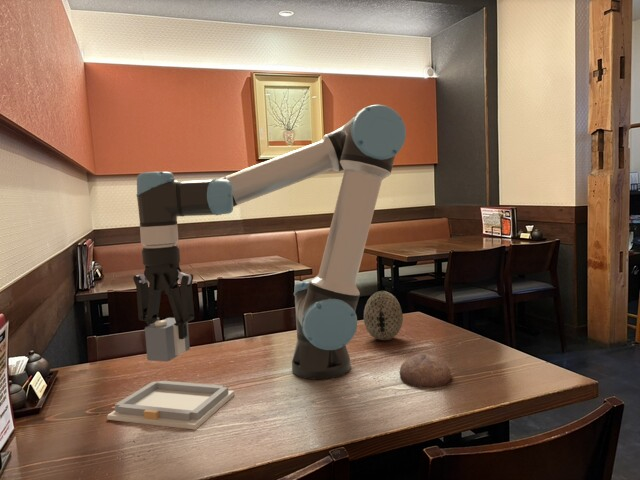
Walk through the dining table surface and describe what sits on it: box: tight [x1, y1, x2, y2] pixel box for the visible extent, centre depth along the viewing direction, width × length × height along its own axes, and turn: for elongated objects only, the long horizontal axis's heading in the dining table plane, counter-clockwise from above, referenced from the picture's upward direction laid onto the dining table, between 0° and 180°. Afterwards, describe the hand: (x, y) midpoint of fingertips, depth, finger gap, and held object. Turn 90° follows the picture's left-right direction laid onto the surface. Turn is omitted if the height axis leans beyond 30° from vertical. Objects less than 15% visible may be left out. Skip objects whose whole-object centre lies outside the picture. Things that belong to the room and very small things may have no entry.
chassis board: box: [106, 380, 235, 431], centre depth 99 cm, size 21×16×2 cm
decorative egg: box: [363, 290, 404, 341], centre depth 137 cm, size 12×12×15 cm
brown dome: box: [399, 353, 452, 389], centre depth 107 cm, size 12×12×6 cm
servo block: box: [144, 317, 191, 362], centre depth 98 cm, size 5×8×8 cm, turn 163°
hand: (169, 352), depth 98 cm, fingers closed on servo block, 5 cm apart
